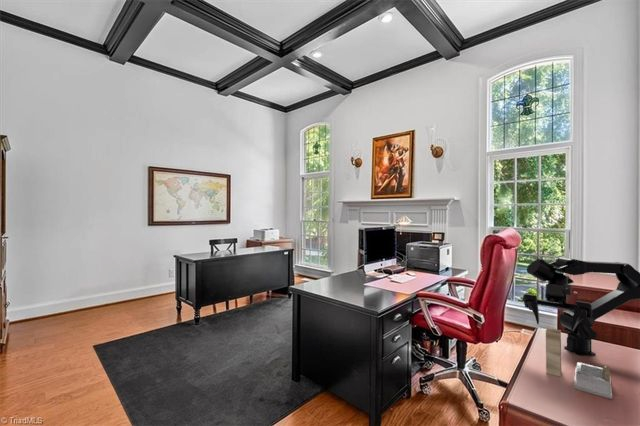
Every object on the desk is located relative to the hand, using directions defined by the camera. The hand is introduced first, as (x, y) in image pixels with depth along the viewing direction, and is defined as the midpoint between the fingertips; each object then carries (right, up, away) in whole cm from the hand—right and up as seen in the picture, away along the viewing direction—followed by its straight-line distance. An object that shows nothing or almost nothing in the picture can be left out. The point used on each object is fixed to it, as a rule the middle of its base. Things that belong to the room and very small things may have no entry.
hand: (554, 327), depth 102 cm
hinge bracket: (+2, -12, -12) cm, 17 cm away
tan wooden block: (-4, -12, -5) cm, 14 cm away
